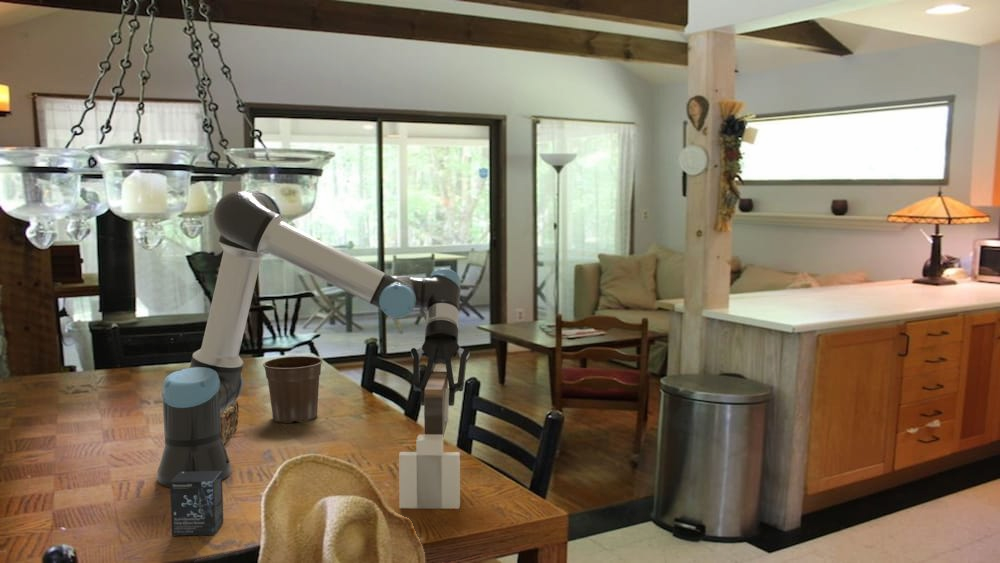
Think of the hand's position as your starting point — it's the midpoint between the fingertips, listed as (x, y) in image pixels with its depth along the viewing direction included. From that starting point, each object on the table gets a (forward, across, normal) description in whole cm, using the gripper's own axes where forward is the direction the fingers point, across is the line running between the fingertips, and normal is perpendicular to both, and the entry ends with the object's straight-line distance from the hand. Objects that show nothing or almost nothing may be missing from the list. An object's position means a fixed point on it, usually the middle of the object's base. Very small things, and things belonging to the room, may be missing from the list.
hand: (436, 417), depth 164 cm
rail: (+1, 0, -4) cm, 4 cm away
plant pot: (-26, +45, -48) cm, 71 cm away
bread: (-13, +61, -35) cm, 72 cm away
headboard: (+16, +1, -6) cm, 17 cm away
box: (+26, +43, +4) cm, 50 cm away
